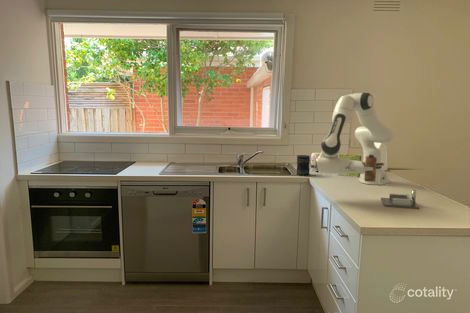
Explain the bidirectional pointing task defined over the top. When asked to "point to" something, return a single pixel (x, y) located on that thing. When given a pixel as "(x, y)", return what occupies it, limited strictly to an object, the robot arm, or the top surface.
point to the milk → (382, 154)
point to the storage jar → (303, 165)
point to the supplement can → (313, 159)
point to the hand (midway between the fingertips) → (372, 167)
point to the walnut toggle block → (370, 162)
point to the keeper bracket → (401, 201)
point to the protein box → (351, 157)
